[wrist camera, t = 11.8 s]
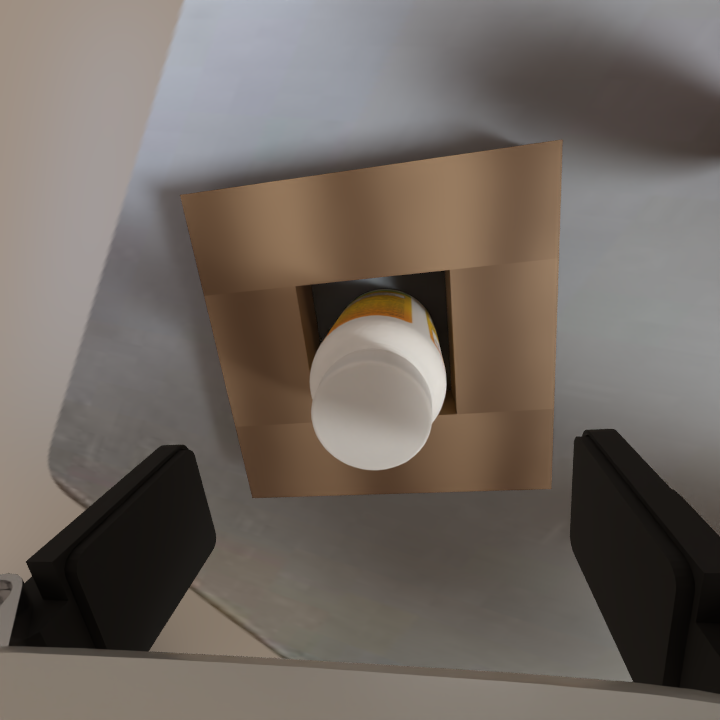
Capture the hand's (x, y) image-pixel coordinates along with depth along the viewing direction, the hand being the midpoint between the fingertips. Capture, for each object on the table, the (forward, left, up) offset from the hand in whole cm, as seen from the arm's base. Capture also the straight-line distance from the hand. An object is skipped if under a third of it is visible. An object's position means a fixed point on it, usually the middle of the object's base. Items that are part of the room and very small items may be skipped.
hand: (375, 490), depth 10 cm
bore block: (+1, 0, -13) cm, 13 cm away
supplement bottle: (0, 0, -13) cm, 13 cm away
